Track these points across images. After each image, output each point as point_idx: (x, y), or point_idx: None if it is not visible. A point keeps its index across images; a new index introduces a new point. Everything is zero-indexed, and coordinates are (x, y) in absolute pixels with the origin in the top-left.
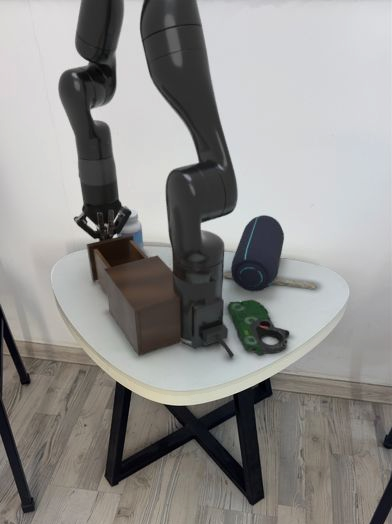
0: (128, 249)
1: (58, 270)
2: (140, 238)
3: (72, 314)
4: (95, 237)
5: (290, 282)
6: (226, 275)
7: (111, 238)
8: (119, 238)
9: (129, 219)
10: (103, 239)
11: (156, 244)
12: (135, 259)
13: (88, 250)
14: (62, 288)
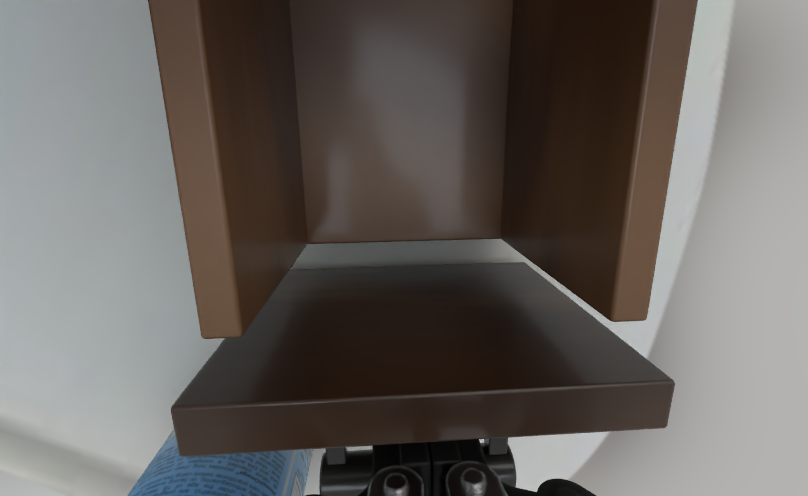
0: (279, 334)
1: (604, 434)
2: (142, 482)
3: (714, 47)
4: (569, 492)
5: None
6: None
7: (386, 472)
8: (331, 414)
9: None
10: (472, 466)
11: (95, 479)
12: (270, 176)
13: (644, 363)
14: (652, 291)
